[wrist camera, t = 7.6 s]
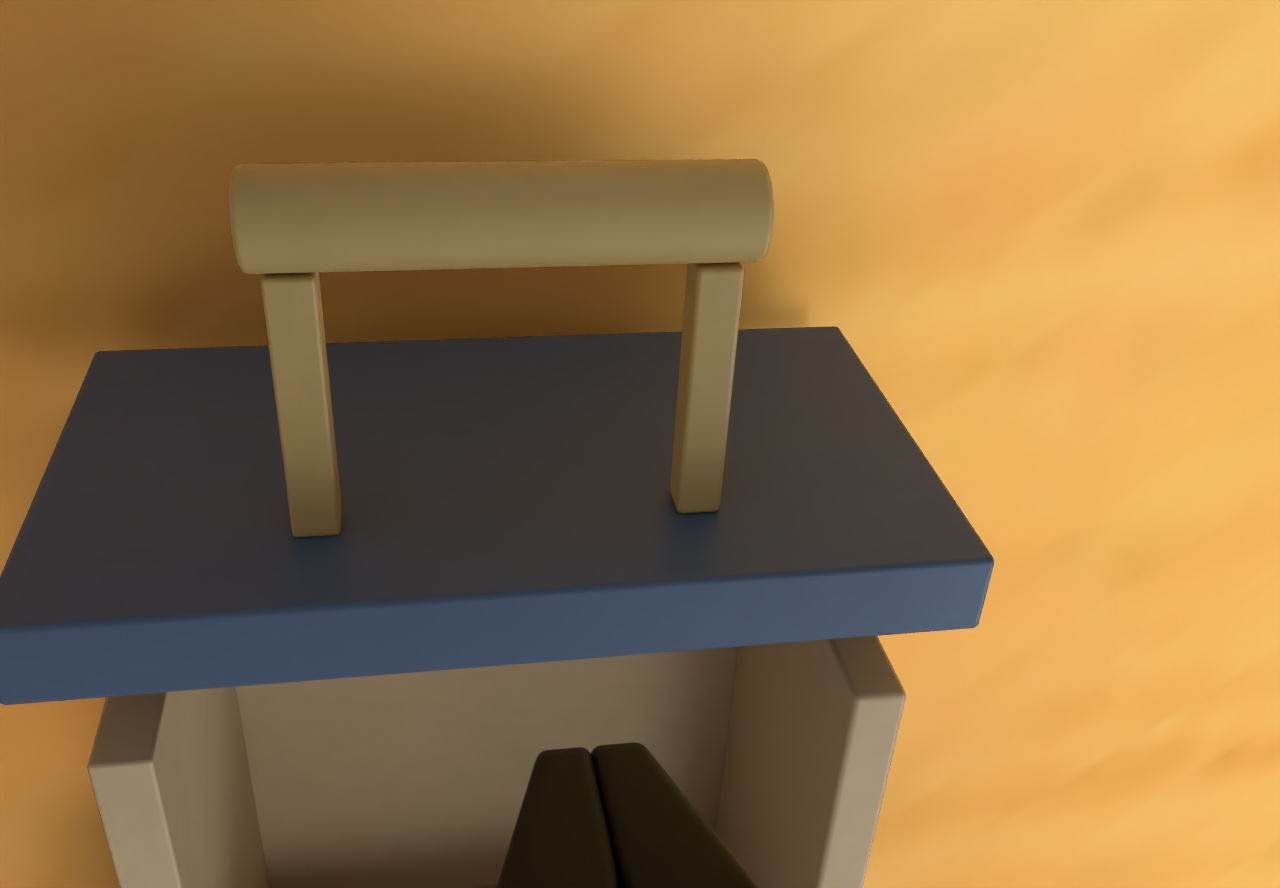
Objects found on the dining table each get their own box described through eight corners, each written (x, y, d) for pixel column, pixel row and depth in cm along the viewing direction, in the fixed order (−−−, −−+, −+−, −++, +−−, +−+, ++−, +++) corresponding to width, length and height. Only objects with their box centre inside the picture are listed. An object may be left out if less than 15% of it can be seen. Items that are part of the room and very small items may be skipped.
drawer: (28, 41, 17) (-153, 234, 11) (880, 47, 19) (1088, 211, 13) (210, 896, 27) (162, 1229, 21) (759, 837, 29) (849, 1124, 23)
